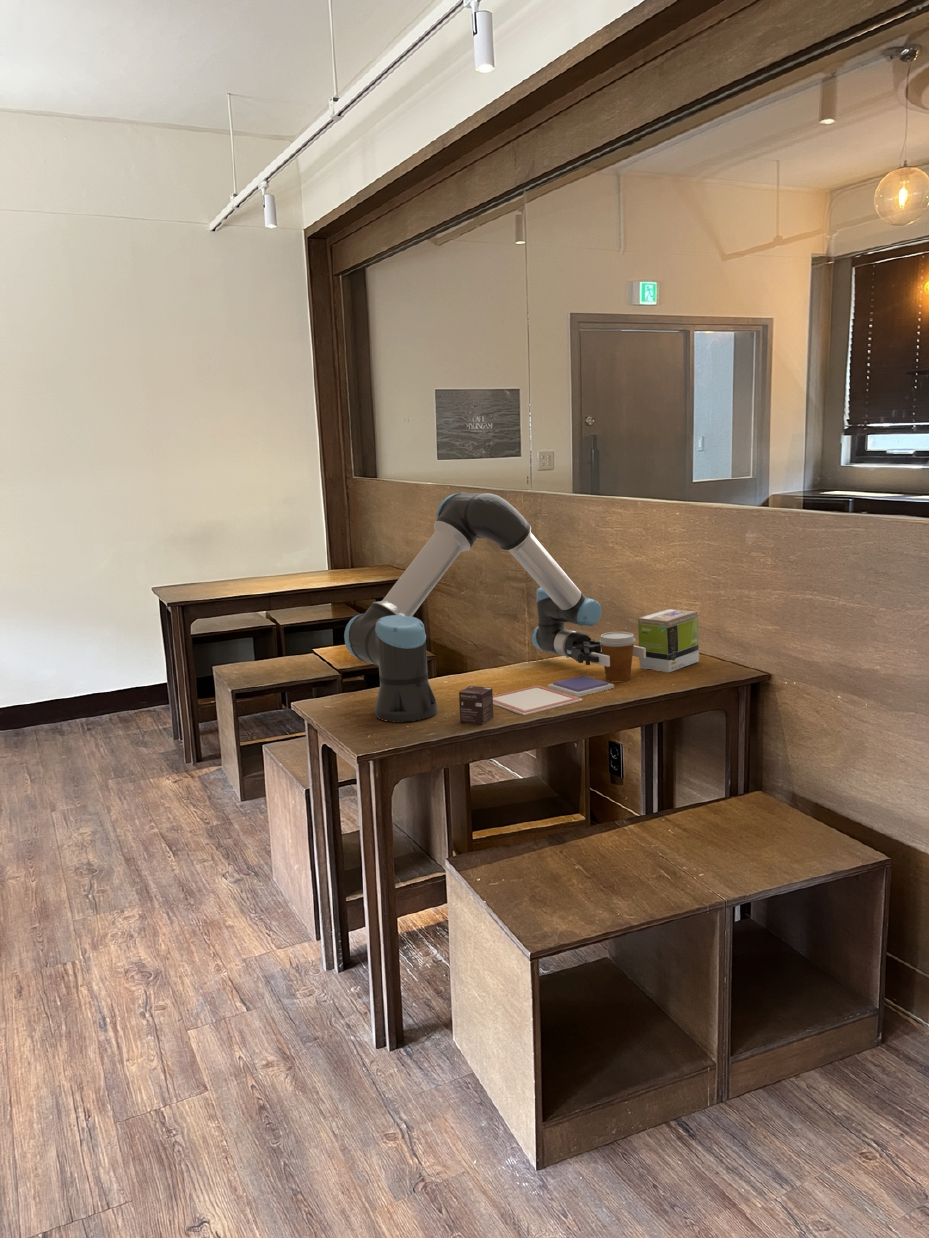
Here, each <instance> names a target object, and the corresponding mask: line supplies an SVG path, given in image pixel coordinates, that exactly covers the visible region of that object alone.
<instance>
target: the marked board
mask: <svg viewBox="0 0 929 1238" xmlns="http://www.w3.org/2000/svg"><path fill="white" fill-rule="evenodd" d="M582 700H583V698H581V697H575V696H572V695H569V694H565V693H562V692H559V691H556V690H552V689H549V688H548V687H545V686H541V685H539V684H538V685H537V684H536V685H534V686H533V685H532V686H528V687H524V688H521V689H520V688H519V689H515V690H511V691H508V692H503V693H499V694H495V695H493V706H496V707H499V708H502V709H505V710H508V711H510V712H513V713H516V714H518V715H521V716H527V715H532V714H536V713H539V712H543V711H548V710H552V709H554V708H558V707H563V706H564V707H565V706H567V705H570V704H571V705H572V704H574V703H579V702H583V701H582Z"/></svg>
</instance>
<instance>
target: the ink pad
mask: <svg viewBox="0 0 929 1238" xmlns="http://www.w3.org/2000/svg"><path fill="white" fill-rule="evenodd" d="M547 688H548V689H552V690H555V691H558V692H561V693H565V694H568V695H571V696H574V697H578V698H581V697H585V696H588V694H589V695H593V694H596V693H600V692H604V690H605V691H609V690H612V689H611V688H613V689H614V688H615V684H614V683H611V682H610V683H609V681H604V680H602V679H597V678H594V677H590V676H586V675H583V674H582V675H579V676H578V675H577V676H574V677H570V678H565V679H561V680H556V681H554V682H552V683H548V684H547ZM608 689H609V690H608ZM592 693H593V694H592Z"/></svg>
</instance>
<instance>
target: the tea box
mask: <svg viewBox="0 0 929 1238" xmlns="http://www.w3.org/2000/svg"><path fill="white" fill-rule="evenodd" d="M698 617H699V616H698V611H692V610H691V611H690V610H681V609H672V608H671V609H670V608H667V609H664V610H660V611H657V612H654V613H650V614H648V615H644V616H641V617H638V618H637V628H638V629H637V631H638V646H639V647H643V648H646V658H640V657H638V658H639V660H638V661H639V668H640V669H642V668H643V669H642V670H647V669H653V670H658V671H657V672H659V671H663V672H662V673H671V672H673V671H677V670H680V669H683V668H684V667H685V668H686V667H687V666H690V665H694V664H696V663H698V662H699V661H700V651H699V650H700V649H699V621H698V620H699V619H698ZM653 670H652V671H653Z"/></svg>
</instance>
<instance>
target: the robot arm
mask: <svg viewBox="0 0 929 1238" xmlns="http://www.w3.org/2000/svg"><path fill="white" fill-rule="evenodd" d="M436 514H437V516H436V520H435V522H434V524H433V528H434V533H432V535H431V536H430V537H429V539H428V540H427V542H426V543H425V544H424V545H423V547H422V548H421V549H420V551H419V552H418V553H417V555H416V556H415V557H414V559H413V560H412V561H411V563H409V565H408V567H407V568H406V569H405V570H404V571H403V573H402V574H401V576H399V578H398V580H397V581H396V582H395V583H394V584H393V586H392V587H391V588H390V590H389V591H388V593H387V594H386V596H384V597H383V599H382V600H381V601H374V602H372V603H371V604H370V606H369V607H368V608H367V610H366V611H365V612H364V613H361V614H357V615H355V616H353V617H352V618H351V619H350V620H349V621H348V623H347V624H346V626H345V628H344V629H345V630H344V634H343V637H344V645H345V647H346V649H347V651H348V652H349V654H350V655H351V656H352V657H354V658H356V659H357V660H358V661H360V662H363V663H368V664H372V665H374V666H378V672H379V689H378V692H377V696H376V700H375V701H376V702H375V705H374V715H376V716H375V718H376V717H377V718H380V719H383V720H387V721H395V722H394V723H405V722H404V721H412V722H416V720H418V721H422V720H421V719H423V720H426V719H429V718H431V717H433V716H435V715H437V713H438V702H437V699H436V697H435V694H434V692H433V690H432V687H431V684H430V682H429V675H428V673H429V671H428V656H427V655H428V653H427V641H426V640H427V634H426V630H425V624H424V623H423V621H422V620H421V619H419V618H417V617H415V616H414V615H415V613H416V612H417V610H418V609H419V608H420V606H421V605H422V604H423V603H424V601H426V599H427V597H428V596H429V595H430V593H431V592H432V590H433V589H434V588H435V587H436V585H437V584H438V583H439V582H440V580H441V578H442V577H443V576H444V575H445V573H446V572H447V571H448V570H449V568H450V566H451V565H452V564H453V563H454V562H455V560H456V559H457V557H458V556H459V555H460V553H462V552H468V551H469V550H470V549H471V548H472V547H473V545H474V544H475V543H476V542H477V540H478V539H487V540H490V541H492V542H493V543H495V544H496V545H497V546H499V548H500V549H501V550H502V551H504V552H509V553H510V554H511V555H512V556H513V557H514V559H515V560H516V561H517V562H518V563H519V565H521V567H522V568H523V569H524V570H525V571H526V572H527V574H528V575H530V577H531V578H533V580H534V581H535V582H536V584H537V585H538V586H539V587H538V588H537V589H536V601H535V602H536V612H537V623H538V625H537V626H536V627H535V628H534V629H533V631H532V636H531V641H532V644H533V646H534V647H535V648H536V649H538V650H541V651H543V652H545V653H550V654H555V655H558V656H564V657H566V659H569V658H571V659H573V660H574V661H576V663H578V664H583V663H584V662H585V665H586V666H590V665H591V663H592V664H596V665H599V666H603V667H604V666H607V667H609V666H610V656H607V655H603V654H602V648H601V644H600V642H599V640H597V639H596V640H595V639H593V640H592V639H591V637H590V636H589V635H588V634H587V633H585V632H580V631H576V630H575V631H574V630H570V629H566V628H565V623H568V624H573V625H576V626H577V625H578V626H581V627H583V626H584V627H585V626H586V627H593V626H595V625H597V623H598V622H599V621H600V619H601V617H602V611H603V610H602V607H601V604H600V602H598V600H596V599H592V598H589V597H586V596H585V594H583V592H582V591H581V590H580V588H578V586H577V585H576V584H575V583H574V582H573V580H572V579H571V578H570V577H569V576H568V575H567V573H566V572H565V571H564V569H563V568H561V566H560V564H558V563H557V561H556V560H555V559H554V557H552V555H551V554H550V553H549V552H548V550H547V549H545V547H544V546H543V544H541V543H540V541H539V540H538V539H537V538H536V537H535V535H534V534H533V533H532V531H531V530H532V526H531V525H530V523H529V522H528V521H527V520H526V518H525V517H524V516H523V515H522V514H521V513H520V512H519V511H518V510H517V508H515V507H514V506H513V505H512V504H511V503H509V501H507V500H506V499H504V498H502V497H501V496H500V495H497V494H494V493H490V492H484V493H479V492H475V493H473V492H465V491H464V492H457V493H453V494H450V495H449V496H447V497H445V498H444V499H443V500H442V501H441V502H440V504H439V506H438V508H437V512H436ZM632 657H637V658H639V657H640V658H646V648H643V647H639V645H634V647H633V656H632ZM377 718H376V719H377ZM425 718H426V719H425ZM387 721H386V722H387ZM398 721H399V722H398Z"/></svg>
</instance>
